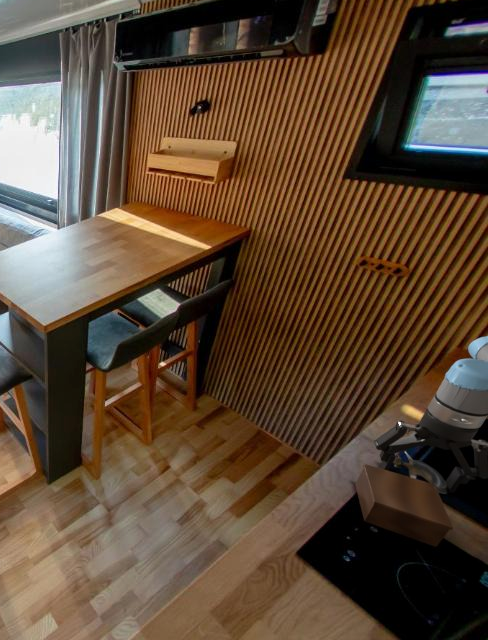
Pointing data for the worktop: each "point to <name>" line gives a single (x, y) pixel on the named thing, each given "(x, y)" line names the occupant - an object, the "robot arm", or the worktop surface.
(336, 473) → the worktop surface
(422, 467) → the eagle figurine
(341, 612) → the worktop surface
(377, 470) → the walnut pedestal
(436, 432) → the robot arm
